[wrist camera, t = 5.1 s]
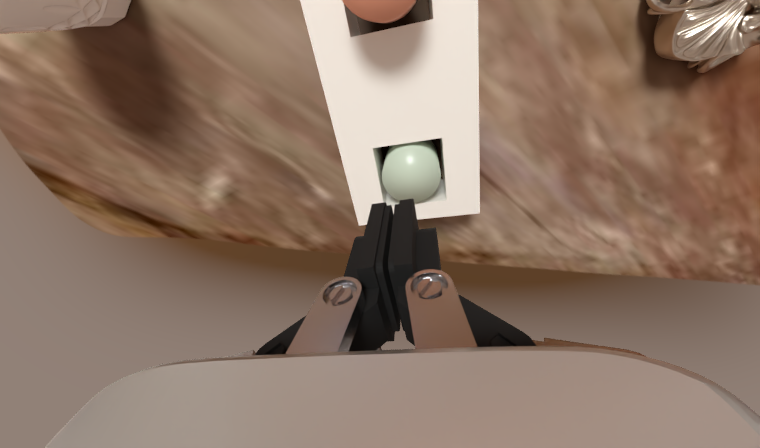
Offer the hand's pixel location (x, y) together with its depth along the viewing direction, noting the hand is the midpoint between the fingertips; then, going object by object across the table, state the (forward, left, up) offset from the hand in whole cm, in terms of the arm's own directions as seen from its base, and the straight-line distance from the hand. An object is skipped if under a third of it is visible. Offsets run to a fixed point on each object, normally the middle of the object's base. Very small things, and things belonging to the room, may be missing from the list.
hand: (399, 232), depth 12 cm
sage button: (0, +2, -15) cm, 15 cm away
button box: (0, -4, -15) cm, 16 cm away
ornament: (-20, -5, -16) cm, 25 cm away
